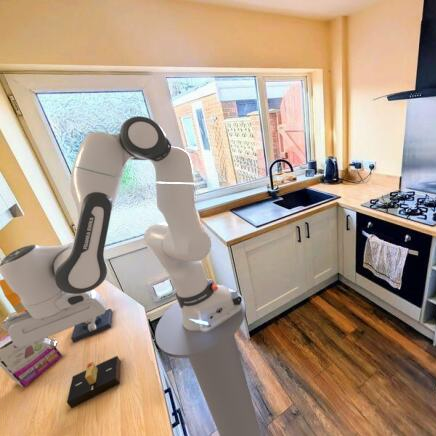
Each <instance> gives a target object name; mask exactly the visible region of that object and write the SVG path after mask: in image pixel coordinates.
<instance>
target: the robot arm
mask: <svg viewBox="0 0 436 436" xmlns="http://www.w3.org/2000/svg"><path fill="white" fill-rule="evenodd" d="M134 160H135V161H150V162H151V164H152V165H153V167H154V172H155V190H156V191H155V193H156V195H155V196H156V206H157V209H158V211H159V212H160V213H161V214H162V216H163V217H164V220H165V222H161V223H160V222H159V223H154V224H152V225H150V226H149V227H148V228H147V229H146V230H145V232H144V235H143V242H144V243H143V244H144V245H145V246H146V248H147V249H149V250H150V251H151V252H152V253H153V254H154V255H155V257H156V259H157V260H158V261H159V262H160V264H161V266H162V267H163V268H164V270H165V271H166V273H167V274H168V275H169V278H170V280H171V282H172V285H173V288H174V290H175V298H176V302H177V301H178V303H179V306H180V307H181V309H182V315H183V326H184V327H185V328H186V329H187V330H190V331H202V332H205V333H207V332H209V331H211V330H212V329H214V328H215V327H217V326H218V325H220V324H221V323H223V322H224V321H226V320H227V319H229V318H230V317H232V316H233V315H235V314H236V313H238V312H239V311H240V310H241V308H242V304H241V301H242V298H243V297H242V298H241V297H240V296H238V294H237V292H238V291H237V290H235V292H233V291H230V290H229V289H228V288H229V287H227V286H226V285H223V284H216V283H215V281H214V280H213V279H212V278H211V276H208V277H209V278H207V274H206V271H205V267H204V265H203V263H202V262H201V261H202V260H204V259H206V257H208V255H209V253H210V252H211V249H212V238H211V236H210V235H209V234H208V233H207V232H206V230H205V228H204V227H203V226H202V224H201V221H200V219H199V217H198V213H197V210H196V205H195V202H196V201H195V183H194V170H193V169H194V168H193V164H192V159H191V156H190V154H189V152H187V151H186V150H184V149H183V148H180V147H177V146H172V143H171V140H170V139H169V138H168V137H167V134H166V133H165V132H164V130H163V128H162V127H161V126H160V125H159V124H158V123H157V122H156V121H154V120H153V119H151V118H149V117H146V116H139V115H138V116H131V117H129V118H128V119H126V120H125V121H124V122H123V123H122V125H121V127H120V130H119V133H116V134H112V133H109V132H106V131H105V132H104V131H92V132H89V133H87V134H86V135H85V136H84V138H83V141H82V142H81V144H80V146H79V147H78V150H77V153H76V155H75V158H74V162H73V166H72V169H71V173H70V174H71V175H70V193H71V196H72V198H73V200H74V203H75V206H76V211H77V223H76V224H77V225H76V228H75V233H74V238H73V242H70V243H67V244H61V245H48V246H47V245H37V244H30V245H25V246H23V247H20V248H18V249H15V250H13V251H12V252H10V253H9V254H8V255H6V256H4V257H3V259H2V260H1V261H0V273H1V276H2V279H5V281H6V283H7V284H8V285H9V287H10V288H11V290H12V291H13V292H14V293H16V294H17V295H19V297H20V299H21V303H22V304H23V306H24V307H25V309H26V311H23V312H21V313H16V314H14V315H13V314H12V315H9V316H7V317H6V318H5V319H4V320H3V321H2V322H1V328H2V329H3V330H4V332H6V333H8V335H10V338H11V340H12V342H13V343H14V345H15V346H16V347H25V346H27V345H29V344H32V343H34V342H37V343H38V344H41V345H45V346H47V347H48V348H49V349H51V348H54V347H56V348H57V347H58V341H57V340H56V339H55V338H52V339H50V336H53V335H55V334H58V333H61V332H63V331H65V330H68V329H70V328H74V327H75V325H78V324H80V323H83V322H85V321H87V320H89V322H91V323H90V324H88V330H89V331H90V332H91V331H93V330H95V329H96V325H95V318H96V317H97V316H100V315H102V314H104V313H105V311H106V310H107V308H108V307H107V302H106V301H105V299H104V298H103V297H102V295H101V294H100V293H99V292H98V291H97V290H95V289H96V288H98V287H99V286H101V284H102V283H104V281H105V279H106V278H107V275H108V267H107V264H106V261H105V257H104V253H105V247H106V240H107V236H108V230H109V227H110V222H111V221H110V220H111V216H112V212H113V209H114V205H115V202H116V200H117V197H118V193H119V190H120V187H121V184H122V182H123V181H122V180H123V176H124V172H125V169H126V166H127V164H128V162H129V161H134ZM46 337H49V339H47V338H46Z"/></svg>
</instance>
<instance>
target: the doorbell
mask: <svg viewBox="0 0 436 436" xmlns="http://www.w3.org/2000/svg"><path fill="white" fill-rule="evenodd" d="M112 321H113V310H112V308H108V309H106V311H105V313H104V314H102V315H100V316H97V317H96V319H95V325H96V329H95V330H93V331H91V332H90V331H89V330H88V324H90V323H91V322H90V323H85V322H83V323H80V324H78V325H75V326H73V331H72V334H71V338H70V340H71V341H72V343H73V344H74V343H78V342H79V341H82V340H84V339H87V338H90V337H91V336H94V335H96V334H99V333H102V332H104V331H106V330H108V329H111V328H112V323H113V322H112Z"/></svg>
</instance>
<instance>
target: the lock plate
mask: <svg viewBox="0 0 436 436" xmlns="http://www.w3.org/2000/svg"><path fill="white" fill-rule="evenodd" d="M95 366H96V367H97V369H98V370H97V377H96V383H93V384H91V385H90V384H89V383H88V381H87V380H86V378H85V375H86V370H87V369H85V370H83V371H81V372H79V373H77V374H75V375H73V376H72V378H71V383H70V386H69V391H68V394H67V399H66V403H67V404H68V406H69V408H70V409H74V408H76V407H78V406H80V405H82V404H83V403H86V402H88V401H89V400H91V399H93V398H95V397H98V396H99V395H101V394H104V393H105V392H107V391H109V390H111V389H113V388H115V387H117V386H119V385H120V384H121V369H122V368H121V367H122V361H121V359H120V357H119V355H115V356H113V357H111V358H109V359H107V360H105V361H103V362H101V363H98V364H95Z"/></svg>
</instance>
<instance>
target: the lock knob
mask: <svg viewBox="0 0 436 436" xmlns="http://www.w3.org/2000/svg"><path fill="white" fill-rule="evenodd" d="M95 365H96V364H95V363H94V362H93V361H91V362H89V363H87V365H86V369H85V370H86V375H85V378H86V380H87V381H88V383H89V384H90V385H91V384H93V383H96V377H97V370H98V369H97V367H96V366H95Z"/></svg>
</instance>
